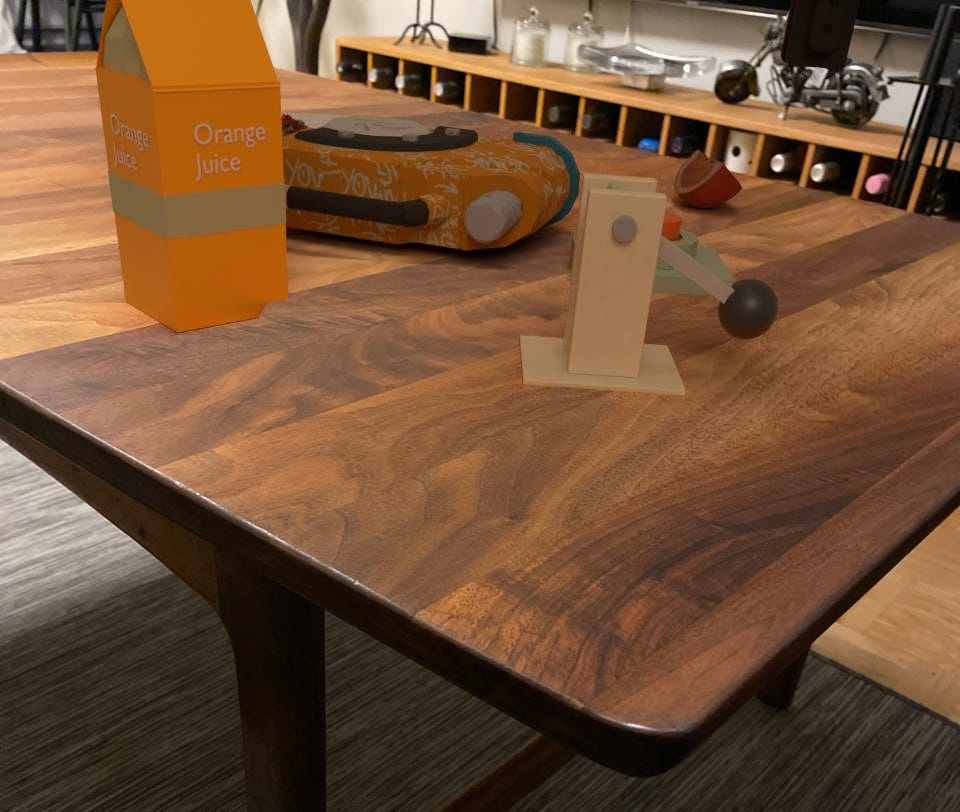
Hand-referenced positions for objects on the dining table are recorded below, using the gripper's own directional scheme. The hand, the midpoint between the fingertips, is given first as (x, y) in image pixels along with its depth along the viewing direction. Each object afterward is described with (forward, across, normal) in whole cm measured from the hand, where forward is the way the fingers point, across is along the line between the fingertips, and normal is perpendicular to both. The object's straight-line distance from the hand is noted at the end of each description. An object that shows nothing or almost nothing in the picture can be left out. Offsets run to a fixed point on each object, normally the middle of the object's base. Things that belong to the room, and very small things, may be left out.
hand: (811, 64), depth 56 cm
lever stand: (+18, 0, +10) cm, 21 cm away
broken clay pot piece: (+19, +52, -6) cm, 56 cm away
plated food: (+18, +64, +36) cm, 75 cm away
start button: (+15, +22, +3) cm, 27 cm away
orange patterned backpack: (+19, +32, +26) cm, 45 cm away
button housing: (+19, +22, +4) cm, 29 cm away
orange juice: (+18, +9, +36) cm, 42 cm away
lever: (+13, 0, +6) cm, 14 cm away
